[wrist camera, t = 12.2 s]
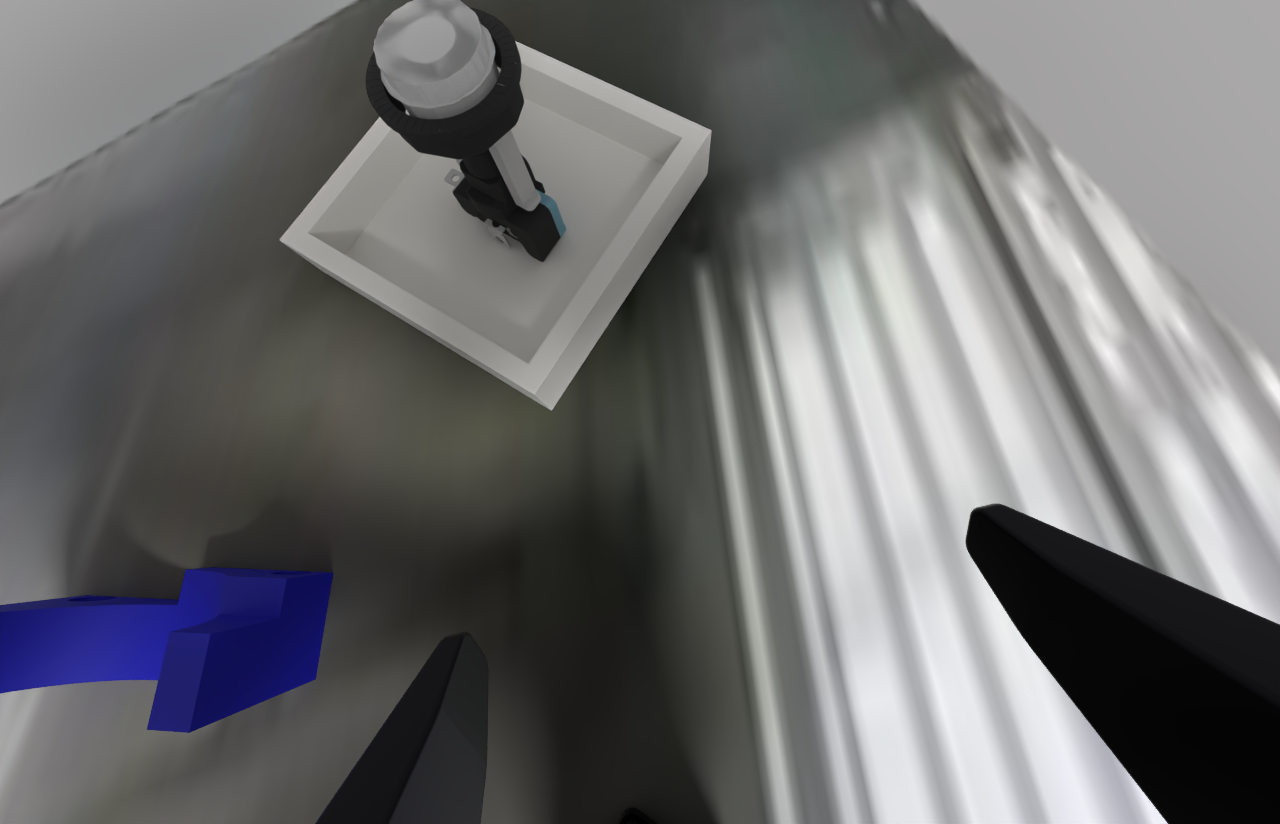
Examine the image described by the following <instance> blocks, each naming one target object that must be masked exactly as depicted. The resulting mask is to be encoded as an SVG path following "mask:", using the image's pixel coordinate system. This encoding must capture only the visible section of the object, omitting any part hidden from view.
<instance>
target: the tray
mask: <svg viewBox="0 0 1280 824" xmlns="http://www.w3.org/2000/svg"><path fill="white" fill-rule="evenodd" d="M515 42H516V41H515ZM516 45H517V48H518V51H519V54H520V58H521V66H522V72H521V79H520V87H521V90H522V94H523V98H524V105H523V108H522V111H521V113H520V116H519V119H518V122H517V124H516V125H515V126H514V127H513V128H512V129H511V131H512V134H513V136H514V139H515V141H516V144H517V146H518V148H519V151H520V153H521V155H522V156H524V157H525V159H526V160H527V161H528V163H529V165H530V167H531V170H532V172H533V175H534V177H535V180H537V181H539V182H541V183H542V184H543V187H544V189H545V193H544V194H546V195H548V196H550V197H551V198H552V199H553V200H554V201H555V202H556V204H557V206H558V209H559V212H560V214H561V217H562V220H563V223H564V224H565V227H566V231H565V232H564V234H563V235H562V237H561V238H560V239H559V241H558V242H557V244H556V245H555V246H554V248H553V249H552V250H551V252H550V253H549V255H548V256H547V257H546V259H545V260H544V262H540V261H538V260H537V259H535V258H533V257H532V256H530V255H529V254H528V252H527V251H526V250H525V248H524V247H523V245H522V244H521V242H519V241H517V240H515V239H513V238H512V237H510V236H508V235H506V234H504V233H503V235H504V236H505V237H506V239H507V241H508V242H509V244H510V246H511V249H508V248H507V247H505V246H503V245H501V244H499V243H498V242H496V241H495V240H494V239H493V237H492V236H491V234H490V232H489V231H488V229H487V226H485V224H484V223H485V222H483V221H481V220H480V219H478V218H477V217H473V216H472V215H470V214H468V213H467V212H466V211H465V210H464V209H463V208H462V207H461V205H460V204H459V202H458V201H457V199H456V198H455V196H454V195H453V192H452V190H453V189H454V186H453V185H451V184H449V183H447V182H445V180H444V178H445V177H446V175H447V174H448V173H449V172H450V170H451V169H455V170H457V171H459V172H461V170H460V166H459V165H458V163H457V161H456V159H452V158H446V157H441V156H435V155H430V154H424V153H420V152H418V151H416V150H415V149H414V148H413V147H412V146H411V145H410V144H409V143H408V142H406V141H405V140H404V139H403V138H402V137H401V135H400V134H399V133H397V132H395V131H394V130H393V129H391V128H390V127H389V126H388V125H387V124H386V123H385V122H384V121H383V120H382V119H381V117H379V118H378V120H377V121H376V122H375V123H374V125H373V126H372V127H371V128H370V129H369V131H368V132H367V133H366V134H365V136H364V137H363V138H362V139H361V140H360V142H359V143H358V144H357V145H356V147H355V148H354V149H353V150H352V151H351V153H350V154H349V155H348V156H347V158H346V159H345V160H344V161H343V162H342V164H341V165H340V166H339V167H338V169H337V170H336V171H335V172H334V173H333V175H332V176H331V177H330V178H329V180H328V181H327V182H326V183H325V184H324V186H323V187H322V188H321V189H320V191H319V192H318V193H317V194H316V195H315V197H314V198H313V199H312V200H311V202H310V203H309V204H308V205H307V206H306V208H305V209H304V210H303V211H302V213H301V214H300V215H299V216H298V217H297V219H296V220H295V221H294V222H293V224H292V225H291V226H290V227H289V228H288V230H287V231H286V232H285V233H284V235H283V236H282V237H281V238H280V241H281V242H282V243H284V244H285V245H287V246H288V247H289V248H291V249H292V250H294V251H295V252H296V253H298V254H299V255H300V256H302V257H303V258H305V259H306V260H307V261H309V262H310V263H311V264H313V265H314V266H316V267H317V268H318V269H320V270H321V271H323V272H324V273H326V274H327V275H329V276H331V277H332V278H334V279H336V280H337V281H339V282H341V283H342V284H344V285H346V286H347V287H349V288H350V289H352V290H354V291H355V292H357V293H359V294H360V295H362V296H364V297H365V298H367V299H369V300H370V301H372V302H373V303H375V304H377V305H378V306H380V307H382V308H383V309H385V310H387V311H388V312H390V313H392V314H393V315H395V316H396V317H398V318H400V319H401V320H403V321H405V322H406V323H408V324H410V325H411V326H413V327H415V328H416V329H418V330H419V331H421V332H423V333H424V334H426V335H428V336H429V337H431V338H433V339H434V340H436V341H438V342H439V343H441V344H442V345H444V346H446V347H447V348H449V349H451V350H452V351H454V352H456V353H457V354H459V355H461V356H462V357H464V358H466V359H467V360H469V361H470V362H472V363H474V364H475V365H477V366H479V367H480V368H482V369H484V370H485V371H487V372H489V373H490V374H492V375H493V376H495V377H497V378H498V379H500V380H502V381H503V382H505V383H507V384H508V385H510V386H512V387H513V388H515V389H516V390H518V391H520V392H521V393H523V394H525V395H526V396H528V397H530V398H531V399H533V400H535V401H536V402H538V403H539V404H541V405H543V406H544V407H546V408H548V409H549V410H551V411H552V409H553V408H554V406H555V405H556V403H557V402H558V400H559V399H560V397H561V396H562V394H563V393H564V391H565V390H566V388H567V387H568V385H569V384H570V382H571V381H572V379H573V378H574V376H575V375H576V373H577V372H578V370H579V369H580V367H581V365H582V364H583V362H584V361H585V359H586V358H587V356H588V355H589V353H590V352H591V350H592V349H593V347H594V346H595V344H596V343H597V341H598V340H599V338H600V337H601V335H602V334H603V332H604V331H605V329H606V328H607V326H608V325H609V323H610V321H611V320H612V318H613V317H614V315H615V314H616V312H617V311H618V309H619V308H620V306H621V305H622V303H623V302H624V300H625V299H626V297H627V296H628V294H629V293H630V291H631V290H632V288H633V287H634V285H635V284H636V282H637V281H638V279H639V278H640V276H641V274H642V273H643V271H644V270H645V268H646V267H647V265H648V264H649V262H650V261H651V259H652V258H653V256H654V255H655V253H656V252H657V250H658V249H659V247H660V246H661V244H662V243H663V241H664V240H665V238H666V237H667V235H668V234H669V232H670V230H671V229H672V227H673V226H674V224H675V223H676V221H677V220H678V218H679V217H680V215H681V214H682V212H683V211H684V209H685V208H686V206H687V205H688V203H689V202H690V200H691V199H692V197H693V196H694V194H695V193H696V191H697V190H698V188H699V186H700V185H701V183H702V182H703V180H704V179H705V177H706V176H707V173H708V162H709V152H710V141H711V131H712V130H710V129H707V128H705V127H703V126H701V125H699V124H696V123H694V122H692V121H690V120H688V119H685V118H683V117H681V116H679V115H677V114H674V113H672V112H670V111H668V110H666V109H664V108H661V107H659V106H657V105H655V104H653V103H650V102H648V101H646V100H644V99H642V98H639V97H637V96H635V95H633V94H631V93H628V92H626V91H624V90H622V89H620V88H617V87H615V86H613V85H611V84H609V83H606V82H604V81H602V80H600V79H598V78H595V77H593V76H591V75H589V74H587V73H584V72H582V71H580V70H578V69H576V68H573V67H571V66H569V65H567V64H565V63H562V62H560V61H558V60H556V59H554V58H551V57H549V56H547V55H545V54H543V53H540V52H538V51H536V50H534V49H532V48H529V47H527V46H525V45H523V44H521V43H518V42H516ZM497 68H498V71H499V73H500V71H501V69H500V68H499V67H497ZM406 114H408V115H410V114H409V113H408V111H407V110H406ZM461 173H462V172H461ZM459 178H460V177H459V176H457V175H456V176H454V177H453V178H452V181H458V180H459ZM497 238H498V239H500V238H499V237H497ZM500 240H501V239H500ZM501 241H502V240H501ZM502 242H503V241H502Z"/></svg>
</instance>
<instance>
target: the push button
mask: <svg viewBox="0 0 1280 824" xmlns="http://www.w3.org/2000/svg"><path fill="white" fill-rule="evenodd" d="M373 49H374V52H373V54H372V56H371V59H370V61H369V64H368V68H367V73H366V89H367V94H368V97H369V100H370V102H371V104H372V106H373V108H374V109H375V111H376V112H377V113H378V115H379V116H380V117H381V119H382V120H383V121H384V122H385V123H386V124H387V125H388V126H389V127H390V128H391V129H393V130H394V131H395V132H397V133H399V134H400V135H401V137H402V138H403V139H404V140H405V141H406V142H408V143H409V144H410V145H411V146H412V147H413V148H414V149H415V150H416V151H418V152H420V153H424V154H430V155H435V156H441V157H446V158H452V159H456V161H457V163H458V165H459V166H460V170H461V172H462V173H461V172H459V171H457V170H455V169H451V170H450V172H449V173H448V174H447V175H446V177H445V178H444V180H445V182H447V183H449V184H451V185H453V186H454V189H453V190H452V192H453V195H454V196H455V198H456V199H457V201H458V202H459V204H460V205H461V207H462V208H463V209H464V210H465V211H466V212H467V213H468V214H470V215H472V216H473V217H477V218H478V219H480V220H481V221H483V222H485V223H484V224H485V226H487V229H488V231H489V232H490V234H491V236H492V237H493V239H494V240H495V241H496V242H498V243H499V244H501V245H503V246H505V247H507V248H508V249H511V246H510V244H509V242H508V241H507V239H506V237H505V236H504V235H503V233H504V234H506V235H508V236H510V237H512V238H513V239H515V240H517V241H519V242H521V244H522V245H523V247H524V248H525V250H526V251H527V252H528V254H529V255H530V256H532V257H533V258H535V259H537V260H538V261H540V262H544V260H545V259H546V257H547V256H548V255H549V253H550V252H551V250H552V249H553V248H554V246H555V245H556V244H557V242H558V241H559V239H560V238H561V237H562V235H563V234H564V232H565V231H566V227H565V224H564V223H563V220H562V217H561V214H560V212H559V209H558V206H557V204H556V202H555V201H554V200H553V199H552V198H551V197H550V196H548V195H546V194H544V193H545V189H544V187H543V184H542V183H541V182H539V181H537V180H535V177H534V175H533V172H532V170H531V167H530V165H529V163H528V161H527V160H526V159H525V157H524V156H522V155H521V153H520V151H519V148H518V146H517V144H516V141H515V139H514V136H513V134H512V131H511V129H512V128H513V127H514V126H515V125H516V124H517V122H518V119H519V116H520V113H521V111H522V108H523V105H524V98H523V94H522V90H521V87H520V79H521V72H522V66H521V58H520V54H519V51H518V48H517V45H516V42H515V40H514V38H513V36H512V34H511V32H510V31H509V30H508V28H507V27H506V26H505V25H504V24H503V23H502V22H501V21H500V20H498V19H497V18H496V17H494V16H492V15H490V14H489V13H486V12H484V11H481V10H478V9H475V8H470V7H467V6H466V5H465V4H464V3H462V2H461V1H460V0H413V1H412V2H408V3H406V4H405V5H404V6H402V7H401V8H399V9H397V10H395V11H394V12H393V13H392V14H391V15H390V16H389V17H388V18H386V19H385V21H384V23H383V24H382V25H381V27H380V28H379V30H378V33H377V37H376V39H375V40H374V47H373ZM497 67H499V68H500V69H501V71H500V73H499V71H498V68H497ZM406 110H407V111H408V113H409V114H410V115H408V114H406ZM456 175H457V176H459V177H460V178H459V180H458V181H452V178H453V177H454V176H456ZM497 237H499V238H500V239H501V240H502V241H503V242H502V241H501V240H500V239H498V238H497Z"/></svg>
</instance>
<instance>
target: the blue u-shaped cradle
mask: <svg viewBox="0 0 1280 824" xmlns="http://www.w3.org/2000/svg"><path fill="white" fill-rule="evenodd" d="M332 577H333V573H331V572H308V571H285V570H262V569H240V568H217V567H210V568H198V569H187V570H186V571H185V575H184V579H183V583H182V588H181V592H180V596H179V600H174V599H154V598H133V597H113V596H92V595H84V596H76V597H67V598H58V599H50V600H41V601H33V602H24V603H15V604H7V605H0V693H5V692H11V691H18V690H25V689H32V688H39V687H47V686H55V685H64V684H73V683H84V682H96V681H112V680H158V684H157V689H156V693H155V697H154V701H153V706H152V710H151V714H150V719H149V723H148V727H147V730H159V731H173V732H187V733H190V732H192V731H194V730H197V729H199V728H201V727H204V726H206V725H208V724H211V723H213V722H216V721H218V720H220V719H223V718H225V717H227V716H230V715H232V714H234V713H237V712H239V711H242V710H244V709H246V708H249V707H251V706H253V705H256V704H258V703H260V702H263V701H265V700H268V699H270V698H272V697H275V696H277V695H279V694H282V693H284V692H286V691H289V690H291V689H294V688H296V687H298V686H301V685H303V684H305V683H308V682H310V681H312V680H315V679H316V674H317V668H318V662H319V656H320V650H321V644H322V638H323V632H324V626H325V620H326V614H327V608H328V602H329V596H330V589H331V583H332Z"/></svg>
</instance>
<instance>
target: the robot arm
mask: <svg viewBox="0 0 1280 824" xmlns="http://www.w3.org/2000/svg"><path fill="white" fill-rule="evenodd" d="M966 547H967V550H968V552H969V554H970V556H971V558H972V559H973V561H974V562H975V564H976V565H977V567H978V569H979V570H980V572H981V573H982V575H983V576H984V578H985V580H986V581H987V583H988V584H989V586H990V587H991V589H992V590H993V592H994V594H995V595H996V597H997V598H998V600H999V601H1000V603H1001V605H1002V606H1003V608H1004V609H1005V611H1006V612H1007V614H1008V616H1009V617H1010V619H1011V620H1012V622H1013V623H1014V625H1015V626H1016V628H1017V629H1018V631H1019V632H1020V634H1021V635H1022V637H1023V638H1024V639H1025V641H1026V642H1027V643H1028V645H1029V646H1030V647H1031V649H1032V650H1033V651H1034V653H1035V654H1036V655H1037V656H1038V658H1039V659H1040V660H1041V662H1042V663H1043V664H1044V665H1045V667H1046V668H1047V669H1048V670H1049V672H1050V673H1051V674H1052V676H1053V677H1054V678H1055V679H1056V681H1057V682H1058V683H1059V685H1060V686H1061V687H1062V688H1063V690H1064V691H1065V692H1066V694H1067V695H1068V696H1069V697H1070V699H1071V700H1072V701H1073V703H1074V704H1075V705H1076V706H1077V708H1078V709H1079V710H1080V711H1081V713H1082V714H1083V715H1084V717H1085V718H1086V719H1087V720H1088V722H1089V723H1090V724H1091V726H1092V727H1093V728H1094V729H1095V731H1096V732H1097V733H1098V735H1099V736H1100V737H1101V738H1102V740H1103V741H1104V742H1105V744H1106V745H1107V746H1108V747H1109V749H1110V750H1111V751H1112V752H1113V754H1114V755H1115V756H1116V758H1117V759H1118V760H1119V761H1120V763H1121V764H1122V765H1123V767H1124V768H1125V769H1126V770H1127V772H1128V773H1129V774H1130V776H1131V777H1132V778H1133V779H1134V781H1135V782H1136V783H1137V785H1138V786H1139V787H1140V788H1141V790H1142V791H1143V792H1144V793H1145V795H1146V796H1147V797H1148V799H1149V800H1150V801H1151V802H1152V804H1153V805H1154V806H1155V808H1156V809H1157V810H1158V811H1159V813H1160V814H1161V815H1162V817H1163V818H1164V819H1165V820H1166V822H1167V823H1168V824H1280V625H1279V624H1277V623H1275V622H1272V621H1270V620H1268V619H1265V618H1263V617H1261V616H1259V615H1256V614H1254V613H1252V612H1249V611H1247V610H1245V609H1242V608H1240V607H1238V606H1235V605H1233V604H1231V603H1229V602H1226V601H1224V600H1222V599H1219V598H1217V597H1215V596H1212V595H1210V594H1208V593H1206V592H1203V591H1201V590H1199V589H1196V588H1194V587H1192V586H1189V585H1187V584H1185V583H1182V582H1180V581H1178V580H1176V579H1173V578H1171V577H1169V576H1166V575H1164V574H1162V573H1159V572H1157V571H1155V570H1152V569H1150V568H1148V567H1146V566H1143V565H1141V564H1139V563H1136V562H1134V561H1132V560H1129V559H1127V558H1125V557H1122V556H1120V555H1118V554H1116V553H1113V552H1111V551H1109V550H1106V549H1104V548H1102V547H1099V546H1097V545H1095V544H1092V543H1090V542H1088V541H1086V540H1083V539H1081V538H1079V537H1076V536H1074V535H1072V534H1069V533H1067V532H1065V531H1063V530H1060V529H1058V528H1056V527H1053V526H1051V525H1049V524H1046V523H1044V522H1042V521H1039V520H1037V519H1035V518H1033V517H1030V516H1028V515H1026V514H1023V513H1021V512H1019V511H1016V510H1014V509H1012V508H1009V507H1007V506H1005V505H1002V504H990V505H986V506H981V507H977V508H975V509H974V510H973V511H972V512H971V514H970V519H969V525H968V530H967V535H966ZM487 736H488V664H487V660H486V657H485V655H484V654H483V652H482V651H481V649H480V648H479V646H478V645H477V643H476V642H475V640H474V639H473V637H472V636H471V634H469V633H467V632H462V633H457V634H453V635H449V636H447V637H445V638H444V639H442V640H441V642H440V643H439V644H438V646H437V647H436V649H435V650H434V652H433V653H432V655H431V656H430V657H429V659H428V660H427V662H426V663H425V665H424V666H423V668H422V669H421V671H420V672H419V673H418V675H417V676H416V678H415V679H414V681H413V682H412V684H411V685H410V687H409V688H408V689H407V691H406V692H405V694H404V695H403V697H402V698H401V700H400V701H399V703H398V704H397V705H396V707H395V708H394V710H393V711H392V713H391V714H390V716H389V717H388V718H387V720H386V721H385V723H384V724H383V726H382V727H381V729H380V730H379V732H378V733H377V734H376V736H375V737H374V739H373V740H372V742H371V743H370V745H369V746H368V748H367V749H366V750H365V752H364V753H363V755H362V756H361V758H360V759H359V761H358V762H357V764H356V765H355V766H354V768H353V769H352V771H351V772H350V774H349V775H348V777H347V778H346V780H345V781H344V782H343V784H342V785H341V787H340V788H339V790H338V791H337V793H336V794H335V796H334V797H333V798H332V800H331V801H330V803H329V804H328V806H327V807H326V809H325V810H324V812H323V813H322V814H321V816H320V817H319V819H318V820H317V822H316V823H315V824H480V823H481V814H482V805H483V796H484V787H485V778H486V767H487ZM629 821H634V822H636V823H637V824H657V823H656V822H654V821H653V820H652V819H650V818H649V817H648V816H646V815H645V814H644V813H642V812H641V811H640V810H638V809H636V808H629V809H627V810H625V811H624V813H623V814H622V815H621V817H620V819H619V821H618V823H617V824H627V823H628V822H629Z"/></svg>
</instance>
